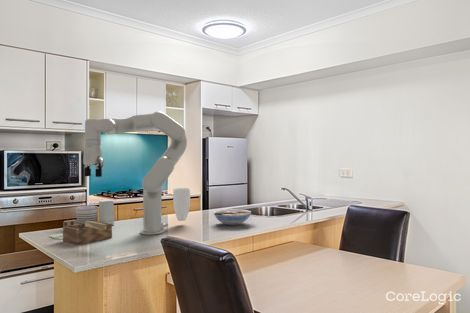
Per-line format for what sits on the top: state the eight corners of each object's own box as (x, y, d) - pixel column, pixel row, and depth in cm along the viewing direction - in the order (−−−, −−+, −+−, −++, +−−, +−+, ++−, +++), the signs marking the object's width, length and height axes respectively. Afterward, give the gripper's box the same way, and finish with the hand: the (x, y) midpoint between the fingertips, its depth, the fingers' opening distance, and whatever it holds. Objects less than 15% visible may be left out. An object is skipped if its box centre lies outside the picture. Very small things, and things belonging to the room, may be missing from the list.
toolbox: (96, 234, 187) (95, 217, 187) (112, 238, 178) (112, 219, 178) (62, 241, 172) (62, 222, 172) (78, 245, 164) (78, 225, 164)
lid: (79, 232, 195) (79, 217, 195) (91, 234, 188) (91, 219, 188) (48, 237, 182) (48, 221, 182) (59, 240, 175) (59, 224, 175)
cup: (169, 226, 208) (169, 189, 208) (178, 222, 218) (178, 187, 218) (185, 227, 204) (185, 189, 204) (193, 224, 214) (193, 188, 214)
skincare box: (114, 223, 216) (113, 199, 216) (114, 225, 210) (114, 200, 210) (99, 224, 213) (99, 199, 213) (98, 226, 207) (98, 201, 207)
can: (99, 225, 212) (99, 204, 212) (95, 228, 201) (95, 207, 201) (79, 225, 210) (79, 205, 210) (73, 229, 199) (73, 208, 199)
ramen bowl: (245, 219, 228) (245, 207, 228) (259, 226, 206) (259, 212, 206) (207, 222, 220) (207, 209, 220) (217, 229, 198) (217, 214, 198)
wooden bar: (88, 226, 166) (88, 220, 166) (106, 229, 158) (106, 224, 158) (85, 226, 165) (85, 221, 165) (103, 230, 156) (103, 224, 156)
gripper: (76, 143, 187) (77, 176, 187) (96, 142, 177) (96, 177, 177) (90, 143, 193) (90, 175, 193) (109, 143, 183) (109, 176, 183)
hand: (93, 176), depth 185 cm, fingers open, 9 cm apart
